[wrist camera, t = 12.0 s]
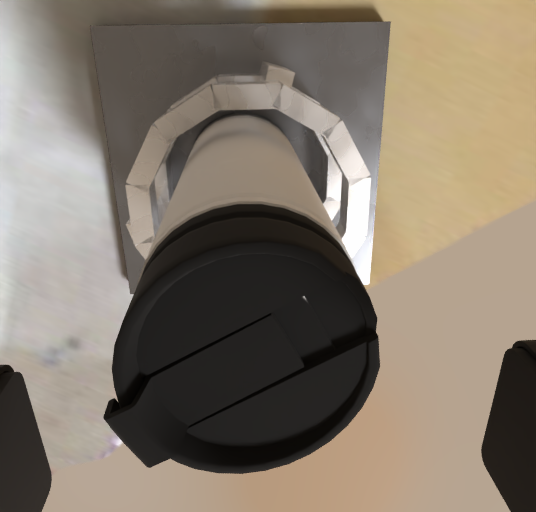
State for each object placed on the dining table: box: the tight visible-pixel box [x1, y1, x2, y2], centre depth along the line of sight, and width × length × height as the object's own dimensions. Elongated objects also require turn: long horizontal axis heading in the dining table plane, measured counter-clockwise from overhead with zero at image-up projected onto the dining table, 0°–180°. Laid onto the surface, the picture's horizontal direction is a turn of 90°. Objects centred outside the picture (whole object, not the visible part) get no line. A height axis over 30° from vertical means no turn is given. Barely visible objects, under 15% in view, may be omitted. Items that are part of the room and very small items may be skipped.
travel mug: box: [104, 113, 380, 474], centre depth 19 cm, size 6×7×20 cm
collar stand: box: [90, 22, 391, 294], centre depth 26 cm, size 16×16×9 cm
